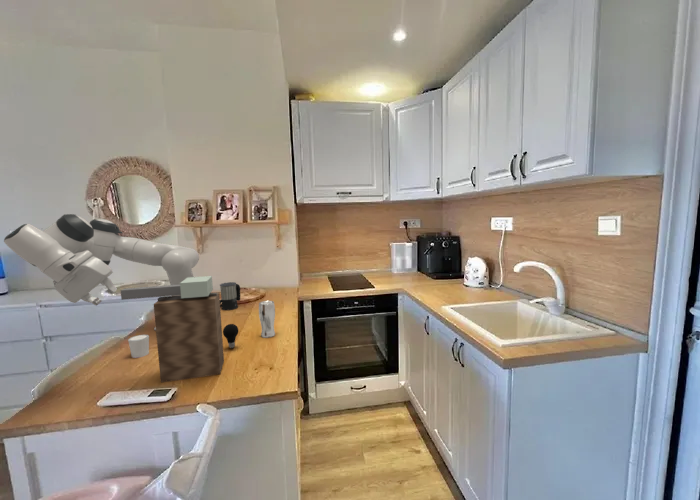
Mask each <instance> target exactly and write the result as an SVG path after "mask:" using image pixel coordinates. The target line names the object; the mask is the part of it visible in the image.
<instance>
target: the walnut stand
mask: <svg viewBox="0 0 700 500" xmlns="http://www.w3.org/2000/svg"><path fill="white" fill-rule="evenodd" d="M220 298H221V297H220V291H219V292H211V293H210V294H209V296H204V297H192V298H181V295H179V296H162V297H157V301H156V302H155V303H153V311H154V312H153V314H154V324H155V327H156V330H155V334H156V345H157V355H158V365H159V366H158V368H159V375H160V376H159V377H160V383H166V382H175V381H181V380H189V379H195V378H202V377H210V376H216V375H221V372H222V370H223V366H224V362H225V359H224V358H225V356H224V354H225V353H224V343H223V328H222V316H221V315H222V313H221V307H220V305H221V304H220V300H221V299H220Z"/></svg>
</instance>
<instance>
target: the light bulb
mask: <svg viewBox="0 0 700 500" xmlns="http://www.w3.org/2000/svg"><path fill="white" fill-rule="evenodd" d="M238 334H239V327H238V326H237V325H236V324H234V323H229V324H226V325H225V326H224V328H222V336H224V338H226V341H227V343H228V346H227V347H228V348H230V349H233V348H234V347H235V346H236V338H237V336H238Z"/></svg>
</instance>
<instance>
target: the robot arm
mask: <svg viewBox="0 0 700 500" xmlns="http://www.w3.org/2000/svg"><path fill="white" fill-rule="evenodd" d="M119 234H120V235H119ZM121 234H123V231H121V230H120V227H119V226H118V225H117V223H114V222H113V221H111V220H108V219H105V218H97V219H92V220H90V222H89V221H87V220H86V219H85V218H84V217H82V216H81V215H80V216H79V215H77V214H73V213H72V214H70V213H69V214H68V213H67V214H63V215H61V216H60V217H59V218H58V219H57V220H56V221H55V222H54V223H52V224H51V225H50V226H48V227H47V228H45V229H44V230H42V229H40V228H38V227H36V226H34V225H32V224H30V223H25V224H22V225H20V226H18V228H16V229H14V230H13V231H12V232H10V233H9V234H7V235H6V236H5V237H4V239H3V242H4V244H5V245H6V246H7V247H8V248H9V249H10V250H11V251H13V252H14V253H15V254H16V255H17V256H18V257H20V258H21V259H23V260H24V261H26V262H27V263H28V264H31V265H32V266H34V267H37V268H38V269H39V270H40V271H41V272H42V273H43V274H44V275H45V276H47V277H48V278H50V279H52V280H53V281H52V284H53V287H54V288H55V290H56V291H57V292H58V294H60V295H61V296H63V298H65V299H66V300H68V302H70V303H73V304H76V303H78V302H79V301H80V300H82V301H84V302H86V303H90V304H91V303H92V304H93V305H94V306H96V307H97V306H98V305H99V304H101V302H103V300H102V299H100V298H99V297H98V296H97V297H94V296H92V294H90V292H91V291H92V290H94V289H95V288H96V287H97V286H99V285H102V286H105V288H106V291H107V292H108V293H109V294H111V295H112V294H114V293H115V292H116V291H117V290H118V287H116V286H115V285H114V284H113V282H112V280H111V279H110V278H109V276H111V275H112V274H113V273H114V272H113V269H112V268H111V267H110V266H109V265H110V263H111V259H112V257H113V255H114V256H115V257H118V258H120V259H123V260H126V261H130V262H133V263H139V264H144V265H148V266H152V267H153V266H154V267H162V268H163V270H164V271H166V274H167V278H168V280H169V285H180V283H181V282H182V281H183V280H185V279H186V278H189V277H194V274H193V269H192V268H194V267H195V266H197V264H198V263H199V260H200V254H199V252H198V251H197V250H196V249H194V248H193V247H187V246H181V245H176V244H168V243H162V242H161V243H160V242H156V241H153V240H147V239H143V238H139V237H138V238H137V237H132V236H131V237H130V236H122V235H121ZM174 296H179V295H174ZM153 329H154V331H156V326H155V327H154V328H153Z"/></svg>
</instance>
